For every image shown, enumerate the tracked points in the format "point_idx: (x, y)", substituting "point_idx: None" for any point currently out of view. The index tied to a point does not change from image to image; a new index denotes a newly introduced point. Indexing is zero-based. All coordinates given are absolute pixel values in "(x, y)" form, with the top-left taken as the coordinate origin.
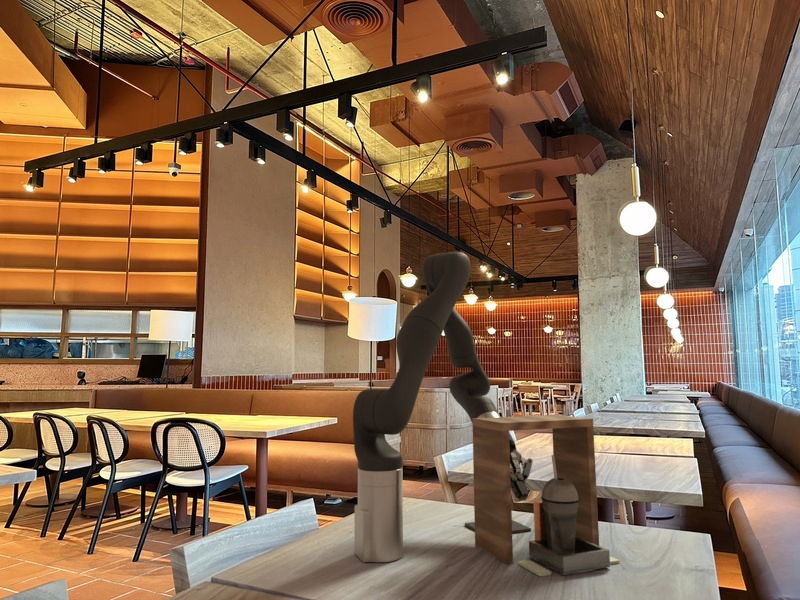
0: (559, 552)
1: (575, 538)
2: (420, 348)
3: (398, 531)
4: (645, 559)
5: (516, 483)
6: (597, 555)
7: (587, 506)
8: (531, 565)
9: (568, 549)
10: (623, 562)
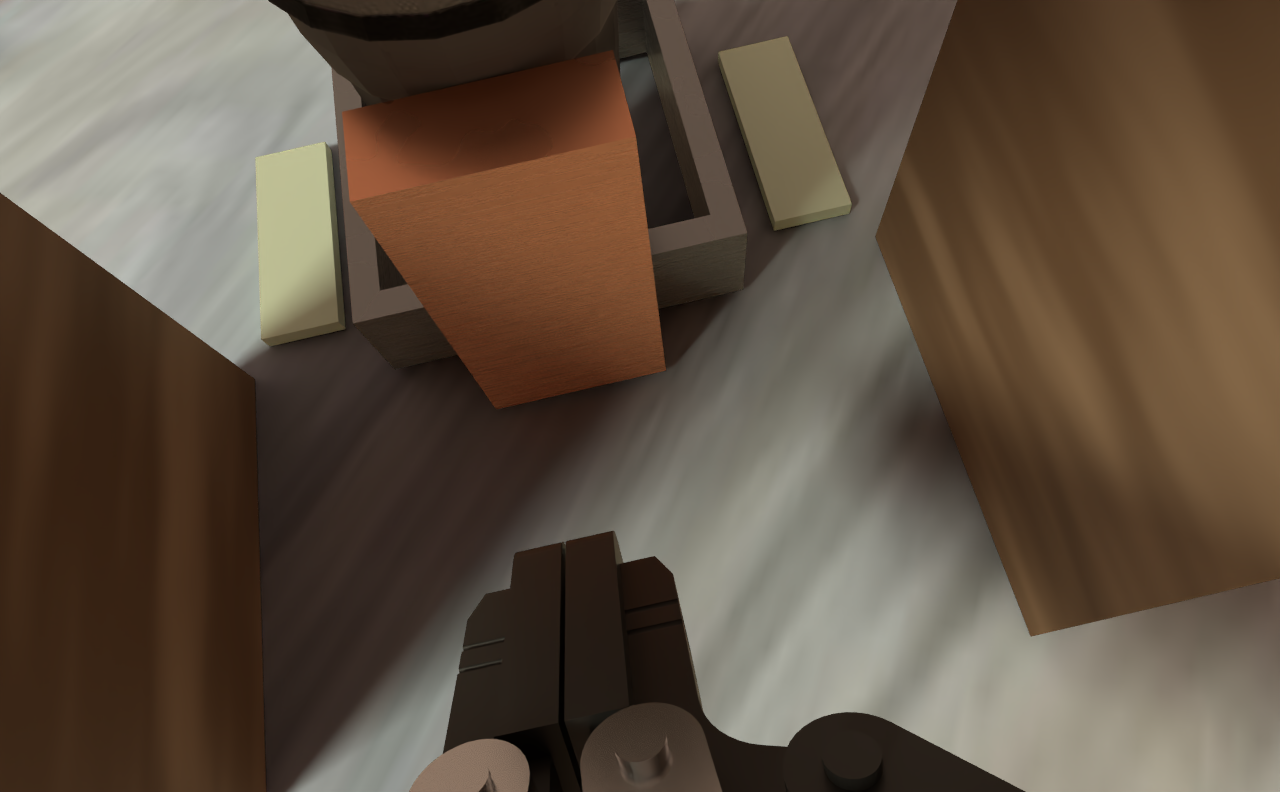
0: None
1: (378, 256)
2: None
3: None
4: (90, 200)
5: (631, 689)
6: None
7: (31, 265)
8: (792, 137)
9: None
10: (238, 174)
